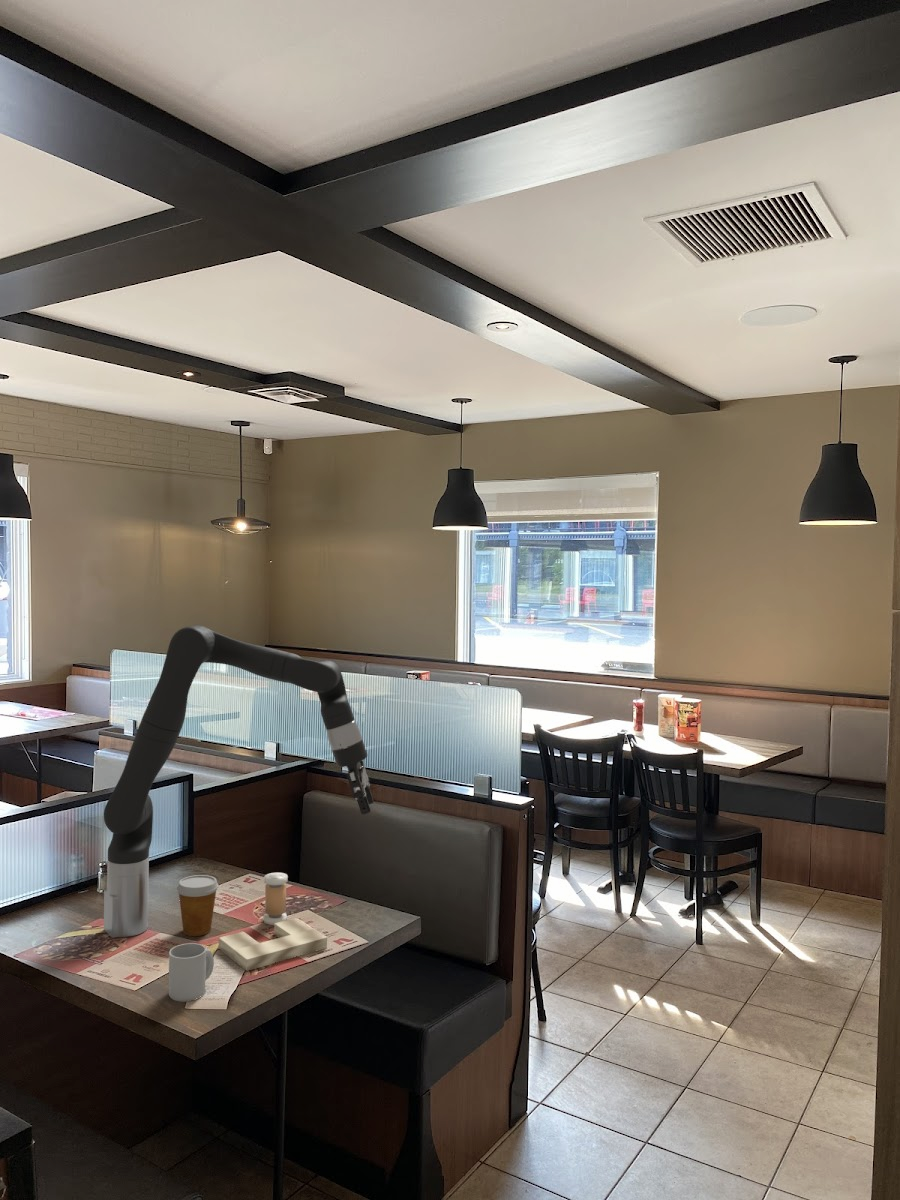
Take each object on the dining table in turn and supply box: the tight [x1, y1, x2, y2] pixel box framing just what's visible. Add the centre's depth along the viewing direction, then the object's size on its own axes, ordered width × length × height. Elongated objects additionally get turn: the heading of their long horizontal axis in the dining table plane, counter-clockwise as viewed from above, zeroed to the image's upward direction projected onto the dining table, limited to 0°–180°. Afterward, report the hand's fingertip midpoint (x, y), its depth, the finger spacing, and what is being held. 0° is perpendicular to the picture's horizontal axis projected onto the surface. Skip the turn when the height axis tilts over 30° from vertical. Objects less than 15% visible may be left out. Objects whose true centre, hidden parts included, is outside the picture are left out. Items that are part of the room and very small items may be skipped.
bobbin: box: [263, 872, 289, 926], centre depth 222 cm, size 6×6×11 cm
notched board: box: [218, 917, 328, 972], centre depth 206 cm, size 20×14×2 cm
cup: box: [168, 942, 215, 1003], centre depth 185 cm, size 7×10×9 cm
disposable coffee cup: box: [176, 874, 219, 937], centre depth 215 cm, size 10×10×12 cm
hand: (368, 808), depth 212 cm, fingers open, 8 cm apart
